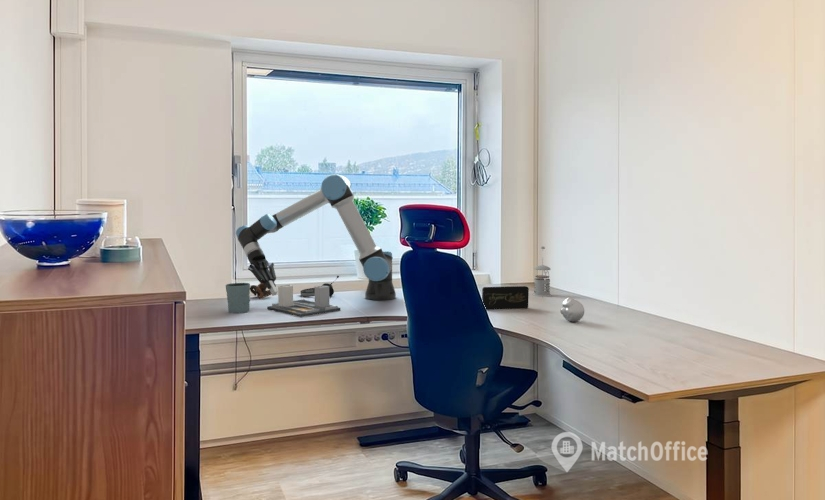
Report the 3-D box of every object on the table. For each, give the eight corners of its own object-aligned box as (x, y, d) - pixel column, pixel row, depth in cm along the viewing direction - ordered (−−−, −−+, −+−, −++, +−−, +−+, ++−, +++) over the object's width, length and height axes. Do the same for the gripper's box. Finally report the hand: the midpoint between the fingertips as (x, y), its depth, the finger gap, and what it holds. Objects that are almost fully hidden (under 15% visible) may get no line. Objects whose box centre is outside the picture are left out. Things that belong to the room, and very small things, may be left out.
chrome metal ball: (558, 319, 244) (558, 294, 243) (581, 319, 243) (582, 295, 242) (561, 323, 235) (562, 298, 234) (586, 324, 234) (586, 299, 233)
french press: (529, 295, 304) (530, 246, 302) (538, 292, 313) (539, 245, 311) (547, 297, 298) (548, 247, 296) (556, 294, 308) (557, 246, 306)
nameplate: (483, 310, 264) (483, 287, 263) (482, 309, 266) (482, 287, 265) (528, 308, 268) (528, 286, 267) (526, 307, 269) (527, 286, 269)
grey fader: (314, 307, 261) (314, 286, 261) (323, 305, 265) (323, 285, 264) (320, 308, 259) (320, 287, 258) (329, 306, 262) (329, 285, 262)
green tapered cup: (249, 313, 254) (248, 285, 253) (224, 314, 252) (223, 286, 251) (251, 309, 264) (251, 282, 263) (227, 309, 262) (227, 282, 261)
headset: (339, 276, 297) (298, 282, 294) (341, 295, 298) (301, 301, 295) (337, 273, 310) (299, 278, 307) (340, 291, 311) (301, 296, 308)
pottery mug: (274, 296, 302) (276, 283, 297) (269, 307, 293) (271, 294, 289) (251, 290, 301) (253, 277, 296) (245, 301, 293) (247, 288, 288)
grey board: (267, 309, 263) (267, 304, 263) (306, 303, 278) (306, 298, 278) (300, 317, 246) (300, 311, 246) (340, 310, 261) (340, 305, 261)
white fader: (278, 306, 263) (278, 285, 262) (288, 304, 267) (287, 284, 266) (283, 307, 260) (283, 286, 260) (293, 305, 264) (292, 285, 263)
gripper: (263, 258, 285) (284, 297, 275) (239, 260, 276) (259, 300, 266) (269, 248, 281) (290, 287, 271) (245, 249, 272) (265, 289, 262)
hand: (275, 293), depth 268 cm, fingers closed
